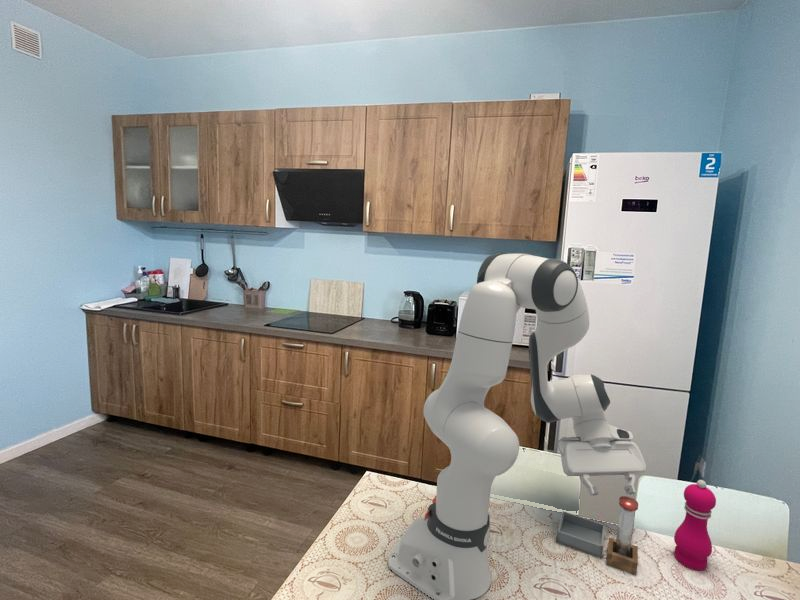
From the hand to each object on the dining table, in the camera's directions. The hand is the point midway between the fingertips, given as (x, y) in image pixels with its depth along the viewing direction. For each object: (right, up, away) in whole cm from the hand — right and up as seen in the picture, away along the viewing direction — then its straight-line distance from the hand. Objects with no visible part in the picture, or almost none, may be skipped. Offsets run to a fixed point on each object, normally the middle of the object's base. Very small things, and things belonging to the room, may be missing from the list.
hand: (612, 494), depth 101 cm
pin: (0, -14, -4) cm, 14 cm away
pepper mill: (+17, -14, -3) cm, 22 cm away
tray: (-6, -12, +3) cm, 14 cm away
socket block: (0, -14, -4) cm, 14 cm away
